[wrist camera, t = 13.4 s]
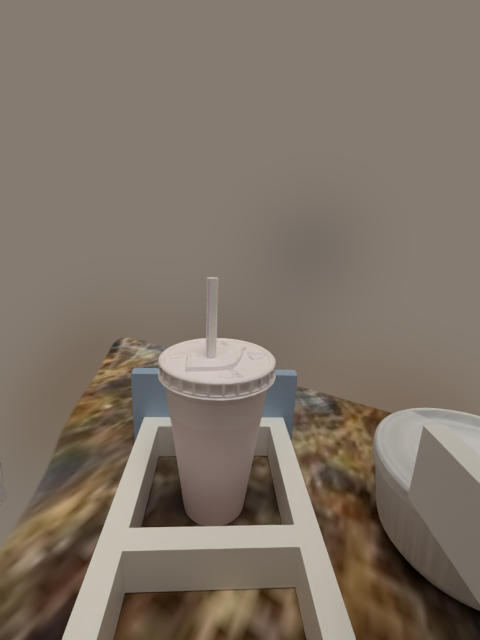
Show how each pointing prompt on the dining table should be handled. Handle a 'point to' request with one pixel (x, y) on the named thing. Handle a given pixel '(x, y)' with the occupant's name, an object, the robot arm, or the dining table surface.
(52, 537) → the dining table surface
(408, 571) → the dining table surface
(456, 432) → the ramekin
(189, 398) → the smoothie
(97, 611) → the drawer frame
